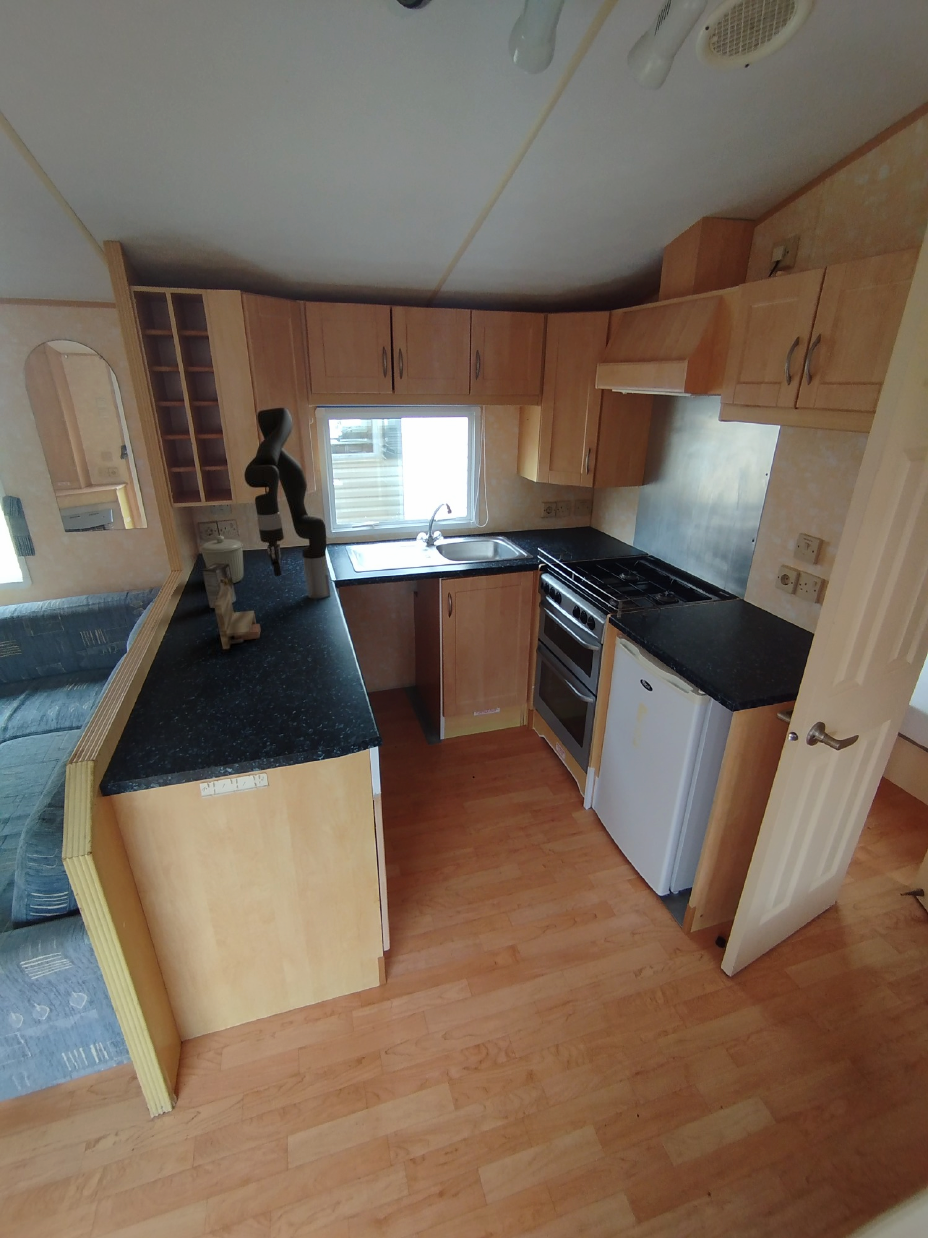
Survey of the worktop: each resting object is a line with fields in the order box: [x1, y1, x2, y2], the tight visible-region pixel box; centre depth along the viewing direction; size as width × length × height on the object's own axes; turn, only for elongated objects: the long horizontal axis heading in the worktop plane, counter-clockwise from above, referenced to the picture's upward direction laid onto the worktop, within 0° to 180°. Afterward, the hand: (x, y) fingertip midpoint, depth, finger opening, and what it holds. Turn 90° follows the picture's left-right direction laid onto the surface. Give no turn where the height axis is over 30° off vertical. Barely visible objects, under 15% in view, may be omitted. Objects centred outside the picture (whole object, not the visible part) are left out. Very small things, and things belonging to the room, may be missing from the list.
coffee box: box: [201, 563, 237, 609], centre depth 223 cm, size 9×6×16 cm
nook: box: [214, 586, 257, 650], centre depth 194 cm, size 9×19×16 cm, turn 14°
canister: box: [199, 535, 244, 584], centre depth 249 cm, size 18×18×21 cm
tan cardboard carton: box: [233, 623, 262, 641], centre depth 197 cm, size 8×7×2 cm
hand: (278, 575), depth 193 cm, fingers closed
